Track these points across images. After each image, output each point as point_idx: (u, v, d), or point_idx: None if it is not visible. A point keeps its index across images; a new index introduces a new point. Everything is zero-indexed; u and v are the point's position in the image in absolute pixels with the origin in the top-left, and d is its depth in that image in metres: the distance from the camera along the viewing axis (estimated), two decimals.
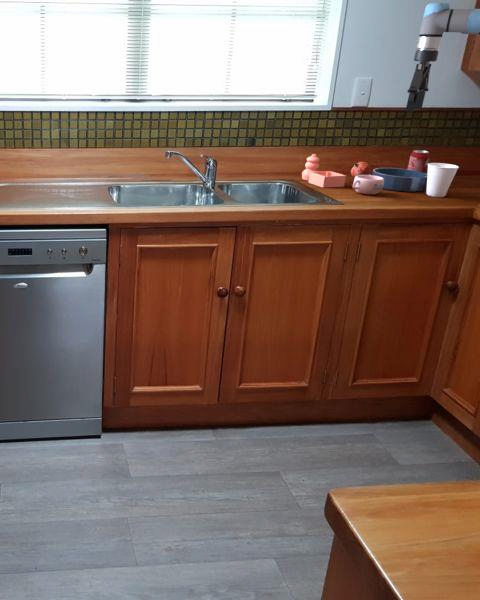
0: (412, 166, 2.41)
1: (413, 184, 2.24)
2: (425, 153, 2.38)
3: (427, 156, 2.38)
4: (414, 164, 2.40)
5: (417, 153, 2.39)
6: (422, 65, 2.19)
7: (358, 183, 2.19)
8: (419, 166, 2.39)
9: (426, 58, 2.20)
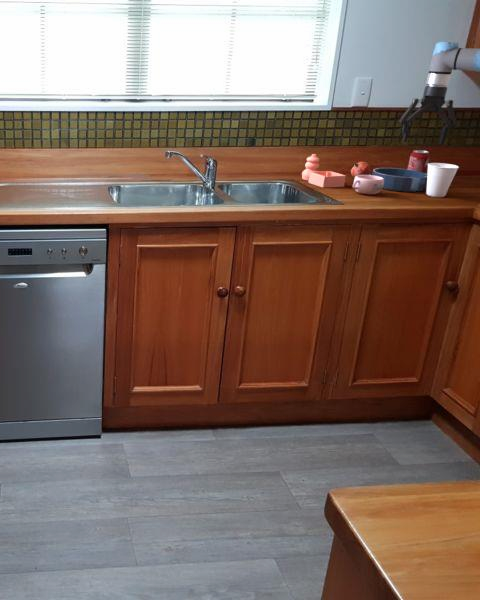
0: (412, 166, 2.41)
1: (413, 184, 2.24)
2: (425, 153, 2.38)
3: (427, 156, 2.38)
4: (414, 164, 2.40)
5: (417, 153, 2.39)
6: (415, 99, 2.33)
7: (358, 183, 2.19)
8: (419, 166, 2.39)
9: (425, 94, 2.31)
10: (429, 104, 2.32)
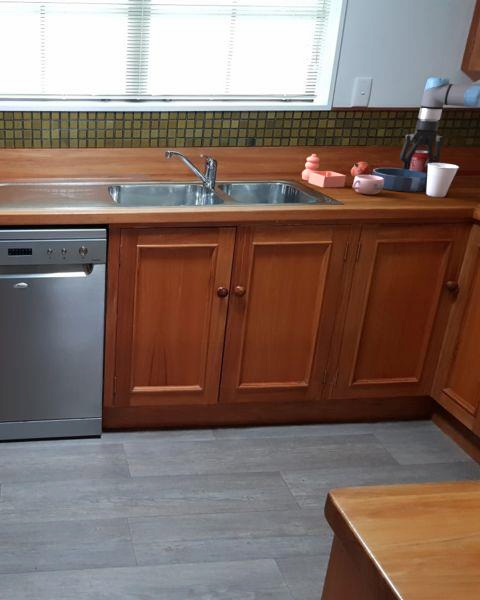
0: (412, 166, 2.41)
1: (413, 184, 2.24)
2: (425, 153, 2.38)
3: (427, 156, 2.38)
4: (414, 164, 2.40)
5: (417, 153, 2.39)
6: (406, 136, 2.38)
7: (358, 183, 2.19)
8: (419, 166, 2.39)
9: (417, 128, 2.36)
10: (421, 138, 2.37)
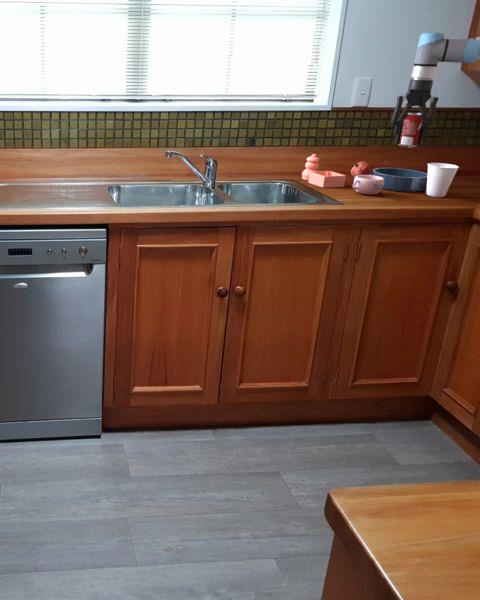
0: (404, 130, 2.25)
1: (413, 184, 2.24)
2: (418, 115, 2.22)
3: (420, 118, 2.22)
4: (406, 127, 2.24)
5: (410, 115, 2.22)
6: (398, 97, 2.22)
7: (358, 183, 2.19)
8: (412, 129, 2.23)
9: (410, 87, 2.20)
10: (415, 99, 2.20)
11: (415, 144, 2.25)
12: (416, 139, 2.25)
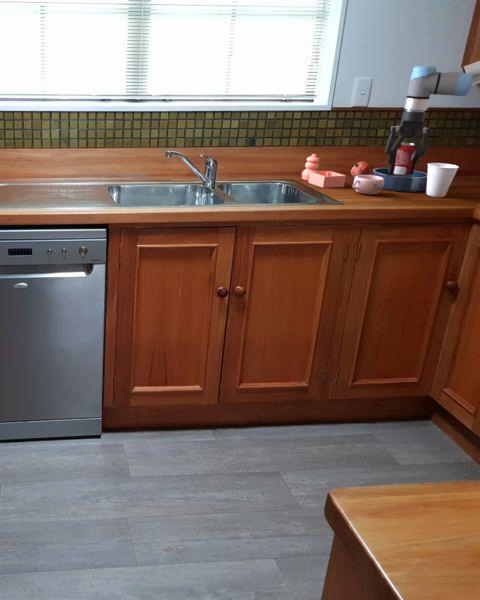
0: (397, 159, 2.29)
1: (413, 184, 2.24)
2: (411, 146, 2.26)
3: (413, 149, 2.26)
4: (399, 157, 2.28)
5: (403, 146, 2.27)
6: (392, 128, 2.26)
7: (358, 183, 2.19)
8: (405, 159, 2.27)
9: (403, 119, 2.24)
10: (407, 130, 2.24)
11: (408, 173, 2.30)
12: (409, 169, 2.29)
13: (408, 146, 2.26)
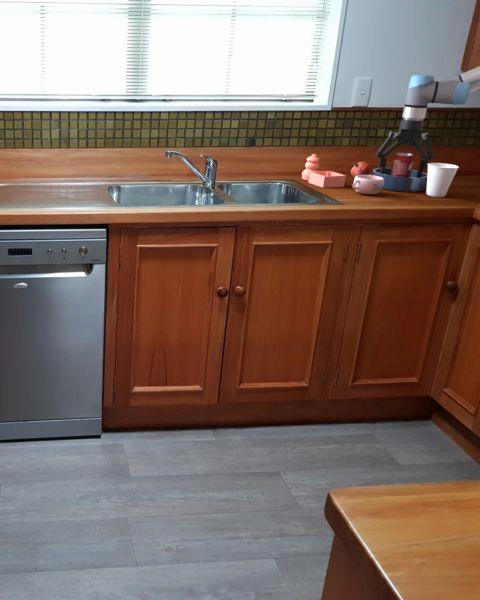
0: (395, 170, 2.30)
1: (413, 184, 2.24)
2: (409, 156, 2.27)
3: (411, 159, 2.28)
4: (397, 167, 2.30)
5: (401, 156, 2.28)
6: (391, 133, 2.27)
7: (358, 183, 2.19)
8: (403, 170, 2.29)
9: (401, 127, 2.25)
10: (405, 138, 2.26)
11: None
12: None
13: (406, 156, 2.27)
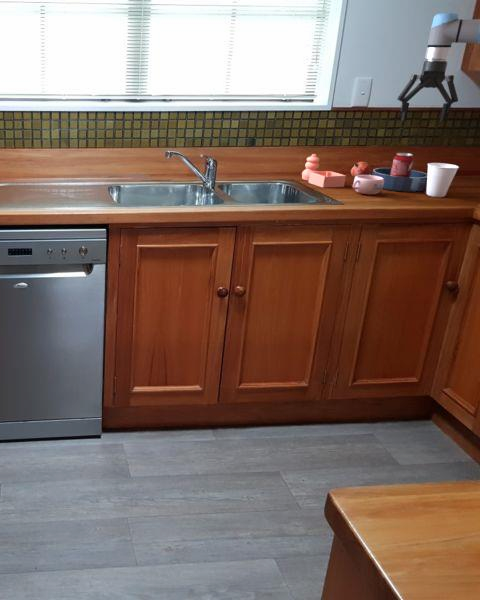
0: (395, 170, 2.30)
1: (413, 184, 2.24)
2: (409, 156, 2.27)
3: (411, 159, 2.28)
4: (397, 167, 2.30)
5: (401, 156, 2.28)
6: (413, 75, 2.21)
7: (358, 183, 2.19)
8: (403, 170, 2.29)
9: (424, 69, 2.20)
10: (429, 80, 2.20)
11: None
12: None
13: (406, 156, 2.27)
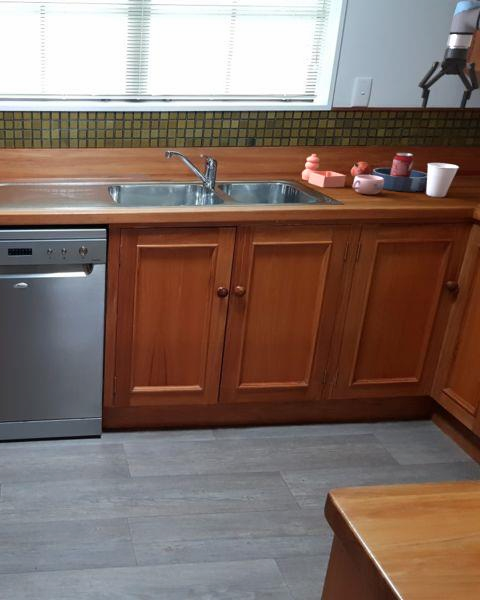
0: (395, 170, 2.30)
1: (413, 184, 2.24)
2: (409, 156, 2.27)
3: (411, 159, 2.28)
4: (397, 167, 2.30)
5: (401, 156, 2.28)
6: (435, 62, 2.24)
7: (358, 183, 2.19)
8: (403, 170, 2.29)
9: (445, 56, 2.23)
10: (450, 67, 2.23)
11: None
12: None
13: (406, 156, 2.27)
